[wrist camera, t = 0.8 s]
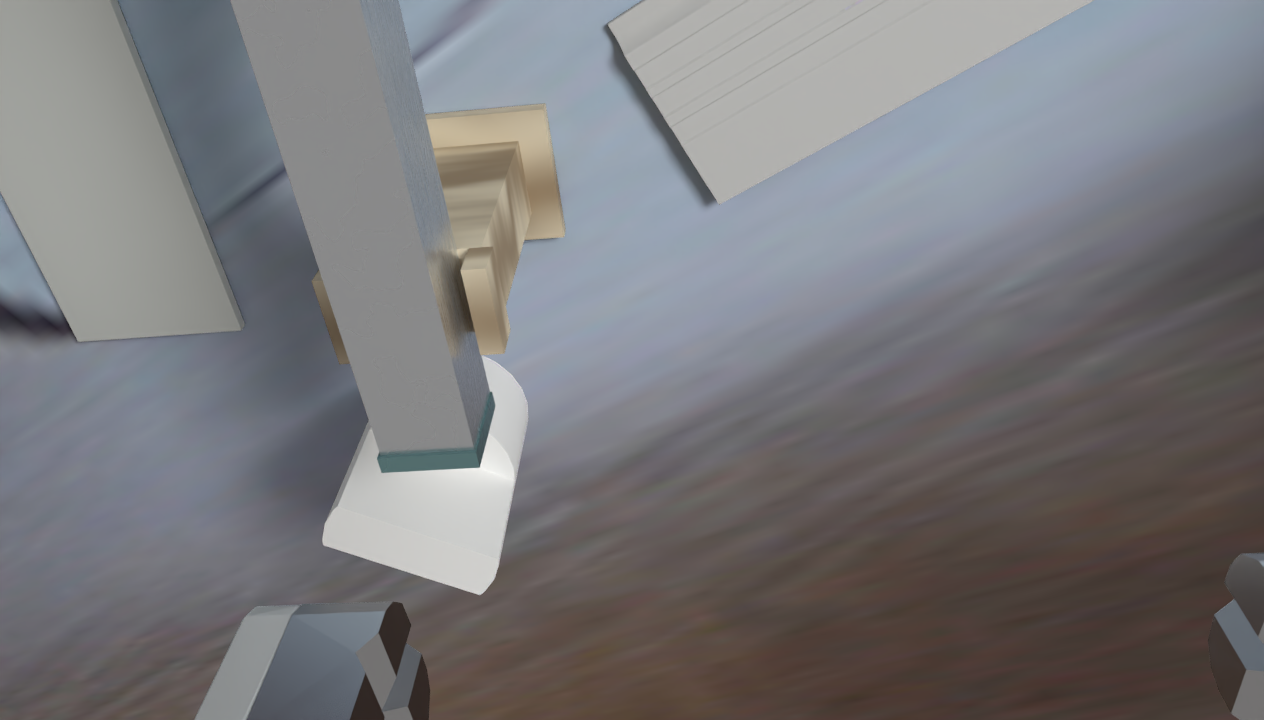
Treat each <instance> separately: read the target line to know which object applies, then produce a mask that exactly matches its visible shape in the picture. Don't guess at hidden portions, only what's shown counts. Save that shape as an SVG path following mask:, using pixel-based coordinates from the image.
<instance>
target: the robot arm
mask: <svg viewBox="0 0 1264 720" xmlns="http://www.w3.org/2000/svg"><path fill="white" fill-rule="evenodd" d="M1224 583H1225V584H1226V586H1227V588H1228V589H1229V591H1230V592H1231V594H1232V596H1233V597H1234V600H1233V601H1232V602H1230V603H1229V604H1228V605H1226V606H1225V607H1224V608H1223V609H1221V610H1220V611H1219V612H1217V613H1216V614H1215V615H1214V618H1213V622H1212V626H1211V630H1210V633H1209V637H1208V645H1209V655H1210V665H1211V670H1212V673H1213V676H1214V678H1215V681H1216V684H1217V687H1218V690H1219V692H1220V694H1221V696H1222V697H1223V699H1224V701H1225V703H1226V705H1227V707H1228V709H1229V710H1230V712H1231V714H1233V715H1234V716H1235V717H1237V718H1238V719H1240V720H1264V552H1263V553H1248V554H1241V555H1240V556H1239V557H1237V558H1236V559H1235V560H1234V561H1233V562H1232V563H1231V565H1230V568H1229V571H1228V574H1227V576H1226V579H1225V582H1224ZM410 627H411V624H410V621H409V619H408V616H407V614H406V612H405V609H404V607H403V604H402V603H398V602H363V603H328V604H302V605H285V606H256V607H255V608H254V609H253V610H252V611H251V612H250V613H249V614H247V615H246V616H245V617H244V619H243V620H242V622H241V624H240V626H239V628H238V630H237V633H236V635H235V637H234V639H233V641H232V643H231V645H230V647H229V649H228V651H227V653H226V655H225V657H224V659H223V661H222V663H221V665H220V668H219V670H218V672H217V674H216V676H215V678H214V680H213V682H212V684H211V686H210V688H209V690H208V692H207V694H206V696H205V698H204V701H203V703H202V705H201V707H200V709H199V711H198V713H197V715H196V717H195V719H194V720H429V701H430V687H429V680H428V673H427V669H426V666H425V663H424V660H423V657H422V654H421V653H419V652H418V651H417V650H415V649H414V648H412V647H411V646H409V645H408V644H407V643H406V641H407V638H408V634H409V631H410Z"/></svg>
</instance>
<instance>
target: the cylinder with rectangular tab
mask: <svg viewBox="0 0 1264 720" xmlns="http://www.w3.org/2000/svg"><path fill="white" fill-rule="evenodd" d="M482 360H483V364H484V368H485V372H486V377H487V381H488V385H489V390H490V392H492V393H493V397H494V401H495V410H494V414H493V418H492V422H491V426H490V430H489V434H488V438H487V442H486V446H485V449H484V453H483V457H482V461H481V465H480V468H464V469H446V470H428V471H409V472H391V473H381V470H380V467H379V464H378V461H377V457H378V454H379V450H378V446H377V443H376V440H375V437H374V434H373V431H372V428H371V425H370V422H369V421H368V423H367V425H366V428H365V430H364V432H363V435H362V437H361V440H360V442H359V444H358V447H357V449H356V451H355V454H354V456H353V458H352V461H351V463H350V466H349V468H348V470H347V473H346V475H345V477H344V480H343V482H342V484H341V487H340V489H339V492H338V494H337V496H336V499H335V501H334V503H333V506H332V508H331V511H330V513H329V515H328V518H327V520H326V522H325V526H324V532H323V539H322V541H323V545H324V546H327V547H331V548H334V549H337V550H340V551H343V552H346V553H349V554H352V555H356V556H359V557H362V558H365V559H368V560H371V561H374V562H378V563H381V564H384V565H387V566H390V567H393V568H396V569H400V570H403V571H406V572H409V573H412V574H415V575H418V576H422V577H425V578H428V579H431V580H434V581H437V582H440V583H444V584H447V585H450V586H453V587H456V588H459V589H462V590H466V591H469V592H472V593H475V594H478V595H481V594H482V593H484V592H485V590H486V589H487V588H488V587H489V585H490V584H491V583H492V581H493V580H494V579H495V575H496V572H497V569H498V565H499V561H500V556H501V551H502V546H503V542H504V537H505V532H506V527H507V522H508V517H509V512H510V507H511V502H512V497H513V492H514V487H515V482H516V478H517V473H518V468H519V463H520V458H521V453H522V448H523V443H524V438H525V433H526V428H527V423H528V403H527V401H526V398H525V395H524V393H523V390H522V388H521V387H520V385H519V384H518V383H517V381H516V380H515V379H514V377H513V376H512V375H511V374H510V373H509V372H508V371H506V370H505V369H504V368H503V367H502V366H500V365H499V364H498V363H497V362H495V361H493V360H491V359H489V358H487V357H485V356H483V355H482Z"/></svg>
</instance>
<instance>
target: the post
mask: <svg viewBox="0 0 1264 720" xmlns="http://www.w3.org/2000/svg"><path fill="white" fill-rule="evenodd" d="M425 116H426V120H427V125H428V129H429V133H430V138H431V142H432V146H433V150H434V155H435V159H436V163H437V167H438V172H439V176H440V180H441V185H442V189H443V193H444V197H445V202H446V206H447V210H448V214H449V219H450V223H451V227H452V232H453V236H454V240H455V244H456V249H457V253H458V257H459V261H460V266H461V275H462V279H463V283H464V287H465V292H466V296H467V300H468V304H469V309H470V313H471V317H472V321H473V326H474V330H475V334H476V338H477V343H478V347H479V351H480V355H489V354H504V353H505V349H506V345H507V341H508V337H509V333H510V325H509V320H508V315H507V311H506V303H507V300H508V296H509V293H510V289H511V286H512V282H513V278H514V275H515V271H516V268H517V264H518V260H519V257H520V253H521V250H522V246H523V243H524V240H532V239H545V238H558V237H564V235H565V224H564V217H563V211H562V205H561V199H560V192H559V186H558V180H557V174H556V167H555V161H554V155H553V149H552V142H551V136H550V130H549V124H548V117H547V111H546V105H545V104H535V105H524V106H512V107H501V108H490V109H479V110H467V111H456V112H445V113H434V114H425ZM312 284H313V287H314V290H315V293H316V296H317V299H318V302H319V305H320V308H321V311H322V314H323V317H324V320H325V323H326V326H327V329H328V332H329V335H330V338H331V340H332V343H333V346H334V349H335V352H336V355H337V358H338V361H339V364H350V362H349V359H348V356H347V353H346V350H345V347H344V343H343V340H342V337H341V334H340V331H339V328H338V325H337V322H336V319H335V316H334V313H333V310H332V307H331V304H330V301H329V298H328V295H327V292H326V289H325V286H324V283H323V280H322V277H321V274H320V271H319V270H318V272H317V273H316V275H315V277H314V278H313V280H312Z"/></svg>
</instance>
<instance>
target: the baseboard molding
mask: <svg viewBox="0 0 1264 720" xmlns="http://www.w3.org/2000/svg"><path fill="white" fill-rule="evenodd" d="M1092 1H1094V0H642V1H640V2H639V3H637V4H636V5H634V6H633V7H631V8H630V9H628V10H626V11H625V12H623V13H622V14H620V15H619V16H617V17H616V18H614V19H613V20H611V21H609V22H608V26H609V28H610V29H611V31H612V32H613V34H614V36H615V37H616V39H617V41H618V43H619V44H620V47H621V49H622V51H623V53H624V56H625V58H626V59H627V61H628V62H629V64H630V65H631V67H632V69H633V70H634V71H635V73H636V74H637V76H638V77H639V79H640V80H641V82H642V84H643V85H644V87H645V88H646V90H647V92H648V94H649V95H650V97H651V98H652V99H653V101H654V102H655V104H656V106H657V107H658V109H659V110H660V112H661V113H662V115H663V117H664V119H665V120H666V122H667V124H668V125H669V127H670V128H671V129H672V131H673V132H674V134H675V135H676V137H677V139H678V140H679V142H680V143H681V145H682V147H683V149H684V150H685V152H686V153H687V155H688V156H689V158H690V160H691V161H692V163H693V164H694V166H695V167H696V169H697V171H698V172H699V174H700V175H701V177H702V178H703V180H704V182H705V183H706V185H707V186H708V188H709V189H710V191H711V193H712V194H713V196H714V197H715V199H716V200H717V202H718V204H719V205H720V204H721V203H723V202H725V201H727V200H729V199H731V198H732V197H734V196H736V195H738V194H740V193H742V192H743V191H745V190H747V189H749V188H751V187H753V186H754V185H756V184H758V183H760V182H762V181H764V180H765V179H767V178H769V177H771V176H773V175H775V174H776V173H778V172H780V171H782V170H784V169H786V168H787V167H789V166H791V165H793V164H795V163H797V162H798V161H800V160H802V159H804V158H806V157H808V156H809V155H811V154H813V153H815V152H817V151H819V150H820V149H822V148H824V147H826V146H828V145H830V144H831V143H833V142H835V141H837V140H839V139H841V138H842V137H844V136H846V135H848V134H850V133H852V132H853V131H855V130H857V129H859V128H861V127H863V126H864V125H866V124H868V123H870V122H872V121H874V120H875V119H877V118H879V117H881V116H883V115H885V114H886V113H888V112H890V111H892V110H894V109H896V108H897V107H899V106H901V105H903V104H905V103H907V102H908V101H910V100H912V99H914V98H916V97H918V96H919V95H921V94H923V93H925V92H927V91H929V90H930V89H932V88H934V87H936V86H938V85H940V84H941V83H943V82H945V81H947V80H949V79H951V78H952V77H954V76H956V75H958V74H960V73H962V72H963V71H965V70H967V69H969V68H971V67H973V66H974V65H976V64H978V63H980V62H982V61H984V60H985V59H987V58H989V57H991V56H993V55H995V54H996V53H998V52H1000V51H1002V50H1004V49H1006V48H1007V47H1009V46H1011V45H1013V44H1015V43H1017V42H1018V41H1020V40H1022V39H1024V38H1026V37H1028V36H1029V35H1031V34H1033V33H1035V32H1037V31H1039V30H1040V29H1042V28H1044V27H1046V26H1048V25H1050V24H1051V23H1053V22H1055V21H1057V20H1059V19H1061V18H1062V17H1064V16H1066V15H1068V14H1070V13H1072V12H1073V11H1075V10H1077V9H1079V8H1081V7H1083V6H1084V5H1086V4H1088V3H1090V2H1092Z"/></svg>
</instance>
